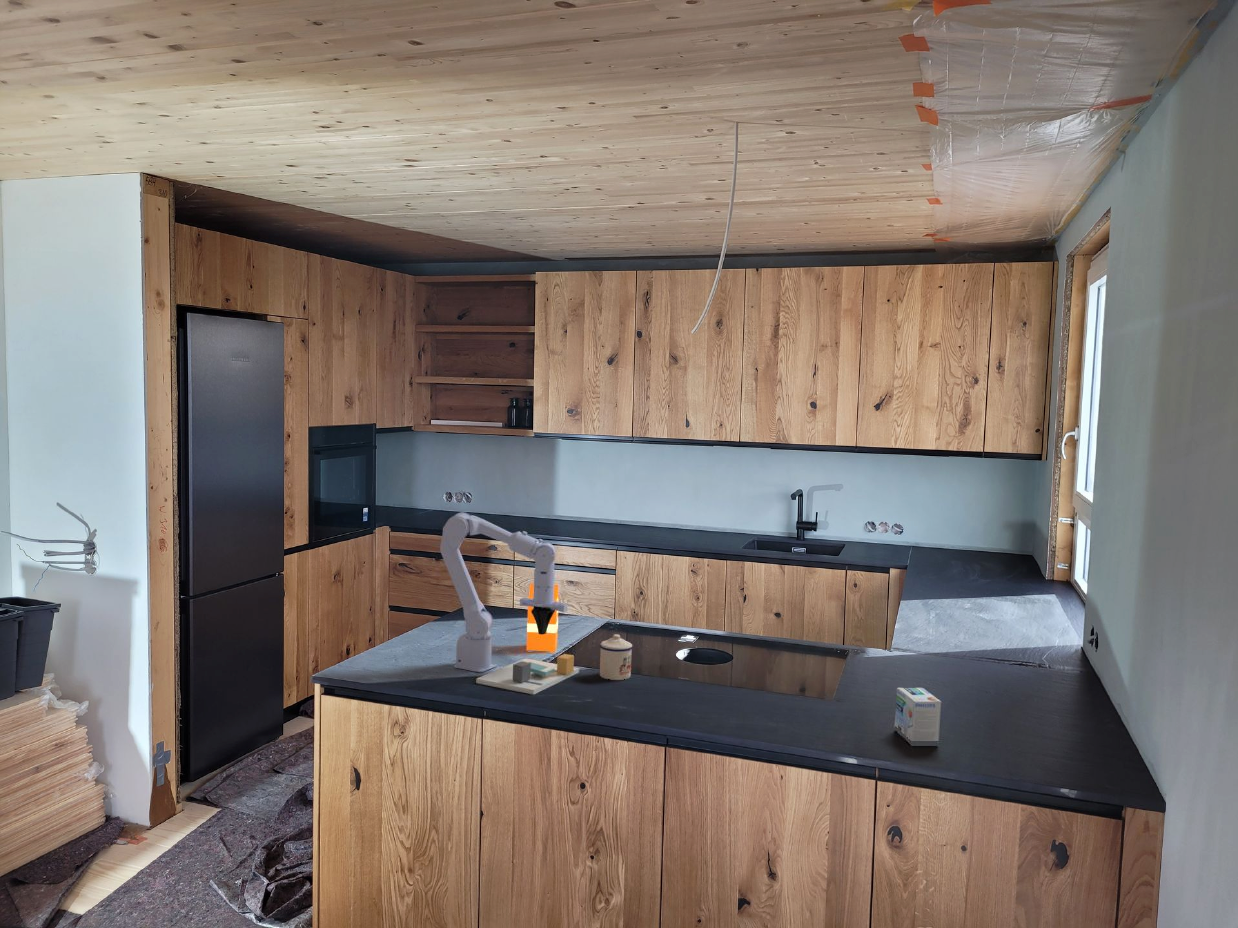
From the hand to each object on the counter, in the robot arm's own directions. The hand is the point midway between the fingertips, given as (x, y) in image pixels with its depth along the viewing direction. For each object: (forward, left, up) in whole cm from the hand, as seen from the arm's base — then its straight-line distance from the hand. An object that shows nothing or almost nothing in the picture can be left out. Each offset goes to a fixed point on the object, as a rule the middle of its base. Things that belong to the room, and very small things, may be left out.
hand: (542, 633), depth 259 cm
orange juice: (-12, +20, -11) cm, 26 cm away
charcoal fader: (+3, -15, -9) cm, 18 cm away
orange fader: (+9, -2, -9) cm, 13 cm away
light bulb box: (+102, +1, -11) cm, 103 cm away
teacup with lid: (+20, +8, -11) cm, 24 cm away
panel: (+1, -8, -10) cm, 13 cm away
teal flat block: (+4, -9, -7) cm, 12 cm away
